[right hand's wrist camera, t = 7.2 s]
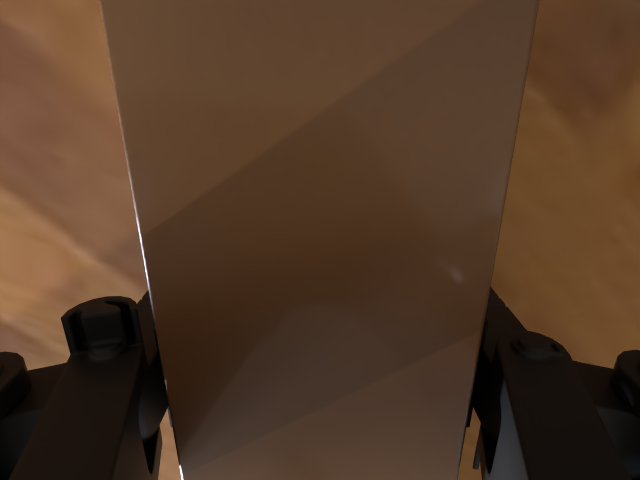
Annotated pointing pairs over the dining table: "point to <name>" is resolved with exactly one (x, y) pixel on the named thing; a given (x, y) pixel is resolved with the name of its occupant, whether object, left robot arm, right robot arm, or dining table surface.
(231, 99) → the post
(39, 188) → the dining table surface
